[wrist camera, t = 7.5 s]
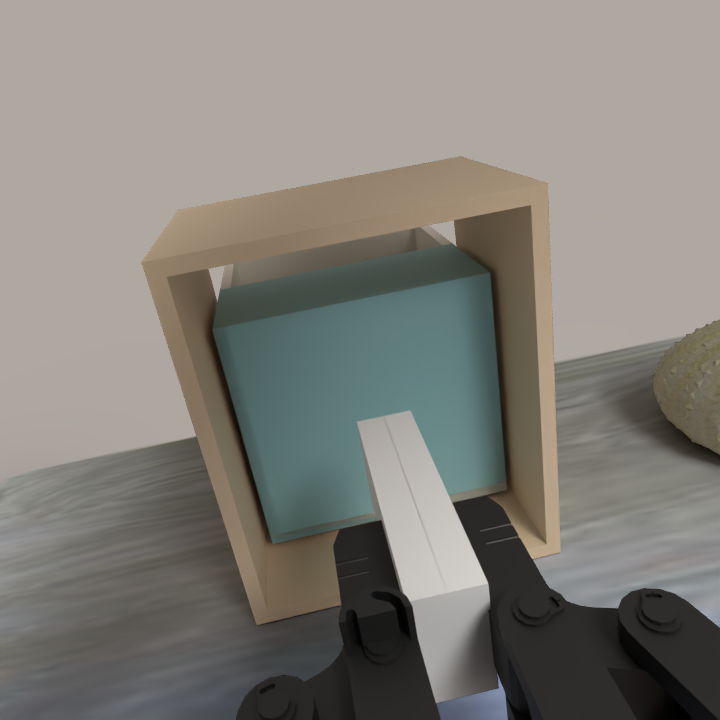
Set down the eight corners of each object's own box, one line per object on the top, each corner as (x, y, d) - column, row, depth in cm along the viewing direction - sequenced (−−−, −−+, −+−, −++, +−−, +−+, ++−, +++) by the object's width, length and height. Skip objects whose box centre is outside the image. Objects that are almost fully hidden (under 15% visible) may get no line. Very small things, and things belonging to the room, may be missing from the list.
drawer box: (507, 489, 24) (490, 272, 21) (272, 543, 24) (212, 329, 20) (439, 383, 34) (419, 218, 30) (268, 419, 33) (226, 256, 29)
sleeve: (560, 552, 22) (547, 182, 17) (256, 625, 21) (141, 262, 16) (486, 439, 29) (460, 156, 24) (257, 490, 29) (178, 209, 23)
